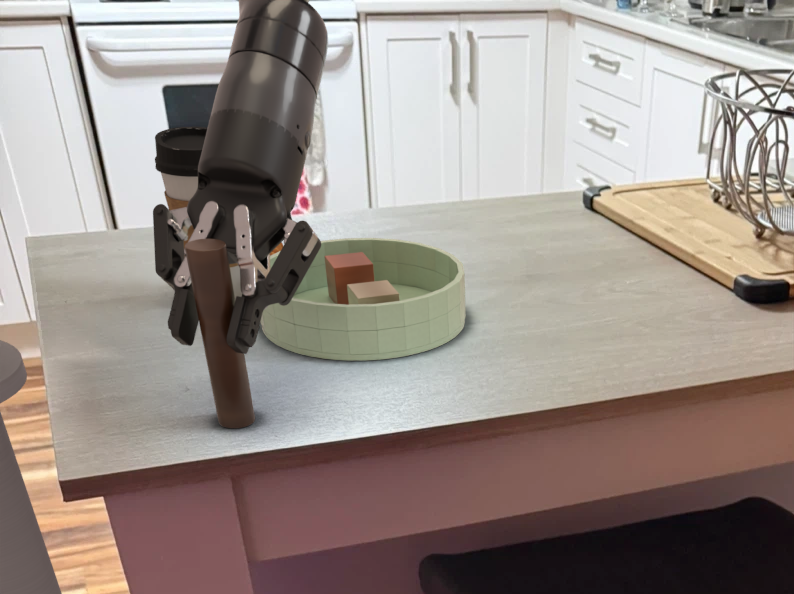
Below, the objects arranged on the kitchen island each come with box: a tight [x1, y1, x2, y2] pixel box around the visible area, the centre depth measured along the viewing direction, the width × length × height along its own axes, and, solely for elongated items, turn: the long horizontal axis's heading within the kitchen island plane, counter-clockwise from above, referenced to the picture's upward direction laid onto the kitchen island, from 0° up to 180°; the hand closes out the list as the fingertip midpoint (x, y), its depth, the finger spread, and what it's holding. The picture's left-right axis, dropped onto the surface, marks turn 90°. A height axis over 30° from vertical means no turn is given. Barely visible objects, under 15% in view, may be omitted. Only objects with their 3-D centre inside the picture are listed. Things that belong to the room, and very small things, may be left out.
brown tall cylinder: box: [185, 239, 256, 429], centre depth 82 cm, size 3×3×14 cm
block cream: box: [347, 280, 400, 305], centre depth 100 cm, size 4×4×4 cm
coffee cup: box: [154, 126, 242, 300], centre depth 104 cm, size 8×8×15 cm
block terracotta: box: [325, 252, 374, 305], centre depth 106 cm, size 4×4×4 cm
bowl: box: [260, 237, 467, 362], centre depth 103 cm, size 20×20×5 cm
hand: (209, 344), depth 81 cm, fingers open, 4 cm apart
